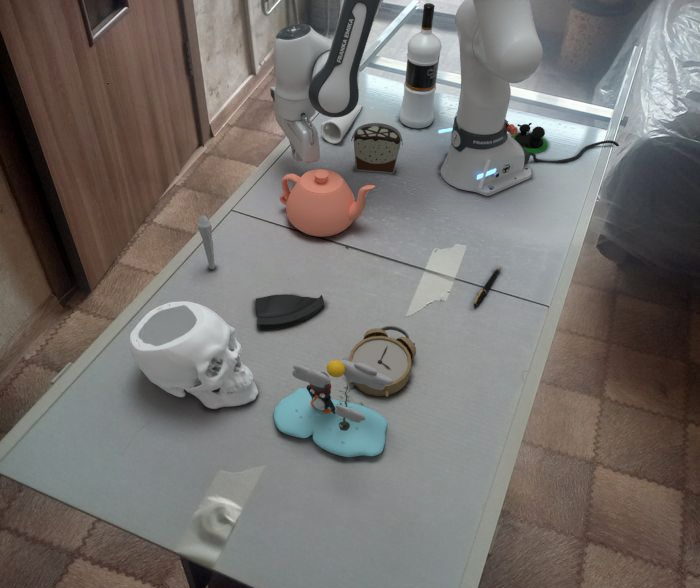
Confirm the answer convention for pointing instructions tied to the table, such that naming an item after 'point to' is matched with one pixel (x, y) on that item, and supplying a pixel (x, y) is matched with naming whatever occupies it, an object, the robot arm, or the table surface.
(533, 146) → the toy figurine
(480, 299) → the fountain pen
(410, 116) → the vodka
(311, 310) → the dark sector wedge
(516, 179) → the robot arm
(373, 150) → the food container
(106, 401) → the table surface
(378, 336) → the alarm clock
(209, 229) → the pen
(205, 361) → the skull planter
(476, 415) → the table surface
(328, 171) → the teapot
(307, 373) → the penguin figurine
